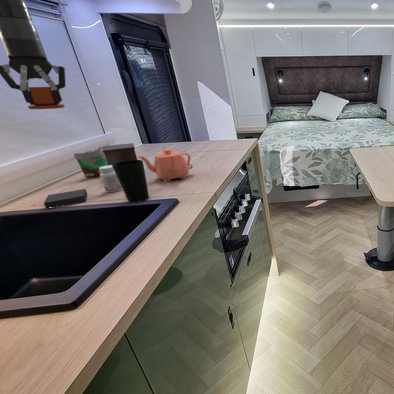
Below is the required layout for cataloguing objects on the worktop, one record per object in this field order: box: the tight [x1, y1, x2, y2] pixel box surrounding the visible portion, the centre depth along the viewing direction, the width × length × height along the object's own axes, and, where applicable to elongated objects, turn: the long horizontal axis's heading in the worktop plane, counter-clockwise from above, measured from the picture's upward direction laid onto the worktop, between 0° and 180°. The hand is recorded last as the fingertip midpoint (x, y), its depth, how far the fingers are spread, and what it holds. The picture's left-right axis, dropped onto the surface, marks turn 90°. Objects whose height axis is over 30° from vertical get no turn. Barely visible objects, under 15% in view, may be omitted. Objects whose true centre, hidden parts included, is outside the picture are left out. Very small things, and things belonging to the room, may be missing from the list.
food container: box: [73, 146, 108, 179], centre depth 115 cm, size 12×6×10 cm, turn 179°
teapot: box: [136, 147, 194, 183], centre depth 111 cm, size 14×14×11 cm
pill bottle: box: [99, 165, 123, 193], centre depth 99 cm, size 5×5×8 cm
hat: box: [27, 86, 65, 110], centre depth 84 cm, size 8×8×6 cm
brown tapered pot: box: [102, 142, 138, 165], centre depth 112 cm, size 9×9×12 cm
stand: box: [43, 188, 88, 209], centre depth 91 cm, size 9×8×2 cm
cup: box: [112, 159, 150, 203], centre depth 90 cm, size 8×8×12 cm
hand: (45, 103), depth 85 cm, fingers closed on hat, 4 cm apart
